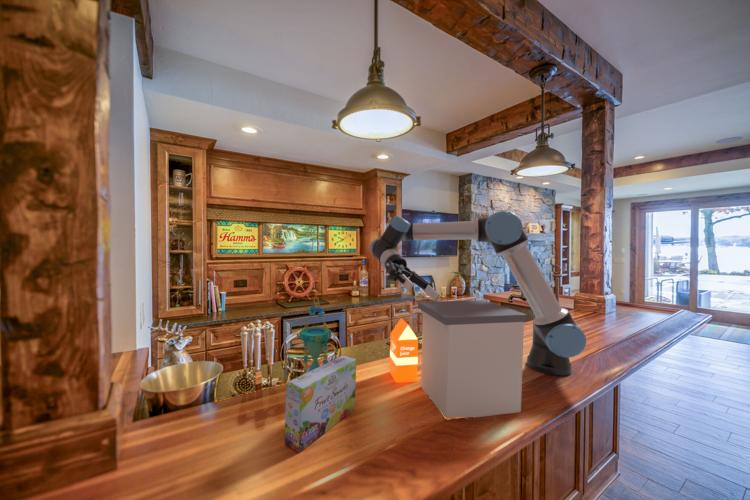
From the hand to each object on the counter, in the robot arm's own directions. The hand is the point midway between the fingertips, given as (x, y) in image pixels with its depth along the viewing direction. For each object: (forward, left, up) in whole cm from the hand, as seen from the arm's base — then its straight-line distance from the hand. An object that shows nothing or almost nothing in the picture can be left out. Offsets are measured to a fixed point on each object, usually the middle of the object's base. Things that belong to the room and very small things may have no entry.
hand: (424, 293), depth 96 cm
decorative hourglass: (+34, -7, -32) cm, 47 cm away
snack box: (+32, +13, -32) cm, 47 cm away
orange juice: (+3, -11, -32) cm, 34 cm away
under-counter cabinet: (-12, +7, -32) cm, 35 cm away
